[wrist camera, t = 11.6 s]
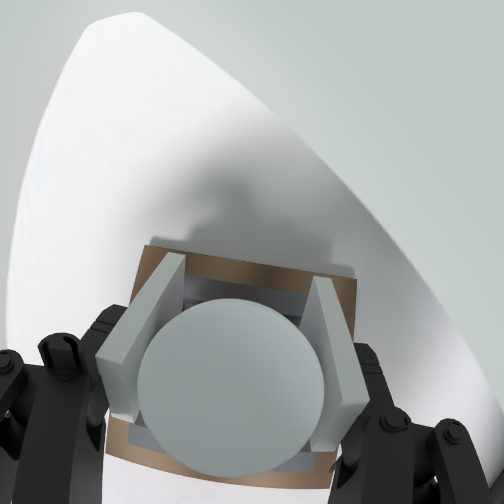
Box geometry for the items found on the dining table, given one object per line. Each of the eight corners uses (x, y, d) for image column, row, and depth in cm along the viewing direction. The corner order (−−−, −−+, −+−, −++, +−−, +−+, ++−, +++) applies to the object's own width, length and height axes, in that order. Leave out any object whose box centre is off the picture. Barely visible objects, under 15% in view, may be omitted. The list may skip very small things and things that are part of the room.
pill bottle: (257, 310, 16) (292, 232, 7) (300, 400, 14) (391, 436, 5) (163, 348, 15) (75, 319, 6) (205, 440, 13) (171, 530, 4)
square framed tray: (352, 282, 20) (376, 264, 16) (325, 484, 15) (345, 505, 11) (147, 249, 20) (131, 224, 16) (109, 450, 15) (85, 465, 11)
